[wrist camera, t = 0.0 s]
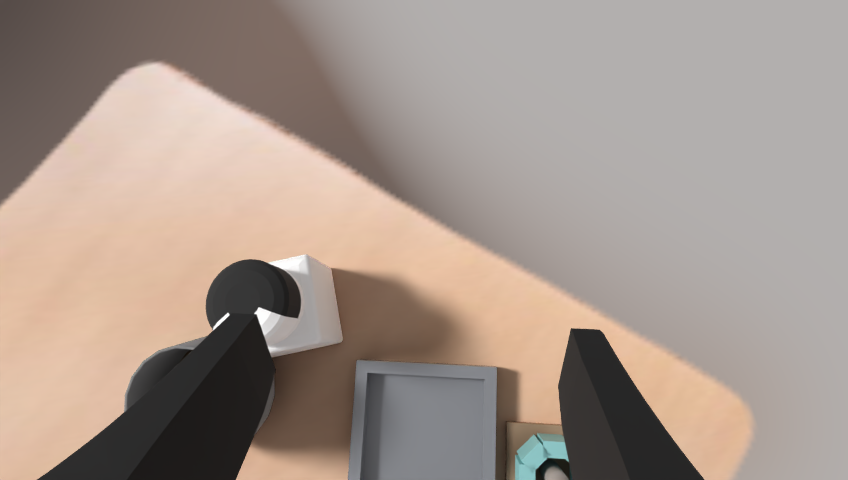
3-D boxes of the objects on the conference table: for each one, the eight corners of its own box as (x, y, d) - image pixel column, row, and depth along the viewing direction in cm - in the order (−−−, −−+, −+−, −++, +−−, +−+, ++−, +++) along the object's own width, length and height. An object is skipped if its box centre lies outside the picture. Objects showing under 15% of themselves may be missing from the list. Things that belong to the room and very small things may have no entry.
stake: (592, 517, 39) (610, 541, 34) (505, 510, 39) (510, 533, 35) (590, 426, 40) (606, 437, 36) (506, 421, 41) (511, 431, 36)
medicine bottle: (259, 282, 45) (187, 261, 34) (331, 266, 45) (285, 240, 33) (268, 358, 44) (197, 364, 32) (344, 342, 43) (300, 342, 32)
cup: (305, 414, 42) (257, 436, 33) (210, 460, 42) (133, 496, 33) (267, 317, 45) (212, 310, 35) (176, 361, 44) (95, 366, 35)
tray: (493, 516, 39) (494, 524, 38) (350, 504, 40) (345, 512, 39) (495, 366, 42) (496, 367, 40) (361, 359, 43) (356, 360, 41)
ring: (514, 504, 39) (519, 518, 36) (515, 431, 40) (519, 439, 37) (603, 511, 38) (615, 526, 35) (601, 437, 39) (612, 445, 36)
